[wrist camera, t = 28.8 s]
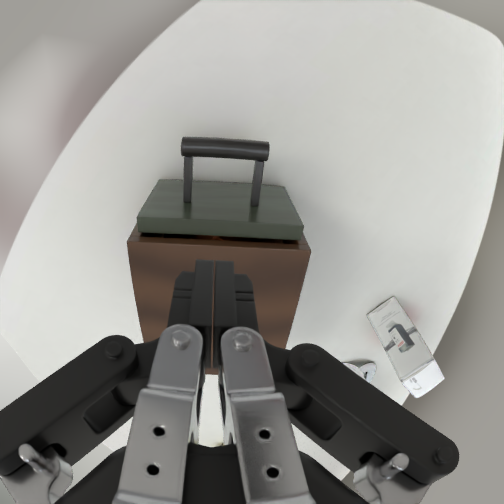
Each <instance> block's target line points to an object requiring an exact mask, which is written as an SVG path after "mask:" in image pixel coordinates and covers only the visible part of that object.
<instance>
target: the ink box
mask: <svg viewBox="0 0 504 504" xmlns="http://www.w3.org/2000/svg"><path fill="white" fill-rule="evenodd" d="M367 317H368V319H369V321H370V323H371V324H372V326H373V328H374V330H375V332H376V334H377V336H378V338H379V340H380V341H381V343H382V345H383V347H384V349H385V351H386V353H387V355H388V357H389V359H390V361H391V363H392V365H393V367H394V369H395V371H396V373H397V375H398V377H399V379H400V381H401V382H402V384H403V385H404V387H405V388H406V389H408V391H409V392H410V393H411V394H412V395H413V396H414V397H415V398H418V397H421V396H422V395H424V394H425V393H427V392H428V391H430V390H431V389H433V388H434V387H435V386H436V385H438V384H439V383H440V382H441V381H443V380H444V379H445V378H444V376H443V374H442V372H441V370H440V368H439V366H438V364H437V363H436V361H435V359H434V357H433V355H432V354H431V352H430V350H429V348H428V347H427V345H426V343H425V342H424V340H423V338H422V337H421V335H420V334H419V332H418V330H417V329H416V327H415V326H414V324H413V323H412V321H411V320H410V318H409V317H408V315H407V314H406V312H405V311H404V309H403V308H402V306H401V305H400V304H399V302H398V301H397V299H396V298H395V297H392V298H390V299H389V300H387V301H386V302H384V303H383V304H382V305H380V306H379V307H377V308H376V309H375V310H373V311H372V312H371V313H369V314H367Z"/></svg>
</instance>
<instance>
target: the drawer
mask: <svg viewBox="0 0 504 504" xmlns="http://www.w3.org/2000/svg"><path fill="white" fill-rule="evenodd" d="M181 155H182V156H185V157H184V180H159V181H158V182H157V184H156V185H155V187H154V189H153V190H152V192H151V194H150V195H149V197H148V199H147V200H146V202H145V204H144V205H143V207H142V209H141V211H140V212H139V214H138V216H137V228H138V232H144V233H155V235H154V237H160V238H182V239H191V238H192V237H193V236H194V235H210V236H229V237H248V238H249V239H250V240H251V242H261V243H280V244H284V242H283V239H284V240H301V238H302V233H303V228H304V225H303V223H302V221H301V219H300V217H299V215H298V213H297V211H296V209H295V207H294V205H293V203H292V201H291V199H290V197H289V195H288V193H287V191H286V189H285V187H283V186H272V185H261V183H262V175H263V167H264V161H267V160H268V157H269V142H264V141H253V140H241V139H226V138H208V137H183V138H182V142H181ZM193 157H215V158H231V159H245V160H255V165H254V174H253V183H252V184H246V183H231V182H213V181H192V179H193Z"/></svg>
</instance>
